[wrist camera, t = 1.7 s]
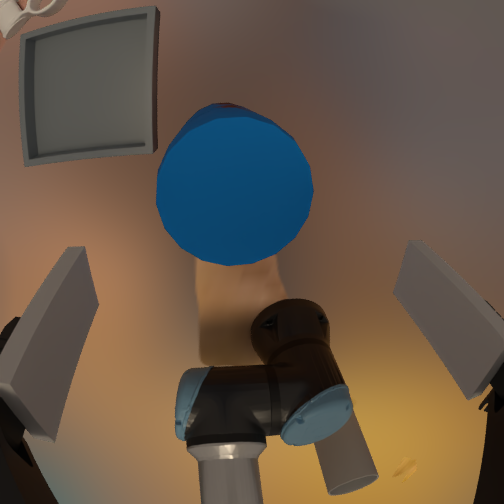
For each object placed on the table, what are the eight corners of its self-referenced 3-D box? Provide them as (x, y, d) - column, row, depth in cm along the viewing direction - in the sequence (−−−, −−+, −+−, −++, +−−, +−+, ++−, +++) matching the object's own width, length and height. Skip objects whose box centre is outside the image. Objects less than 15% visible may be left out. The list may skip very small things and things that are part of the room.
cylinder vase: (355, 392, 76) (387, 469, 54) (341, 416, 82) (366, 488, 60) (311, 398, 74) (338, 482, 52) (301, 422, 80) (321, 498, 58)
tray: (157, 148, 42) (152, 153, 38) (36, 160, 39) (24, 167, 35) (160, 12, 32) (155, 5, 29) (33, 37, 29) (20, 34, 26)
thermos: (187, 98, 39) (159, 106, 17) (265, 106, 41) (329, 126, 19) (180, 173, 44) (152, 263, 22) (254, 179, 46) (298, 272, 24)
